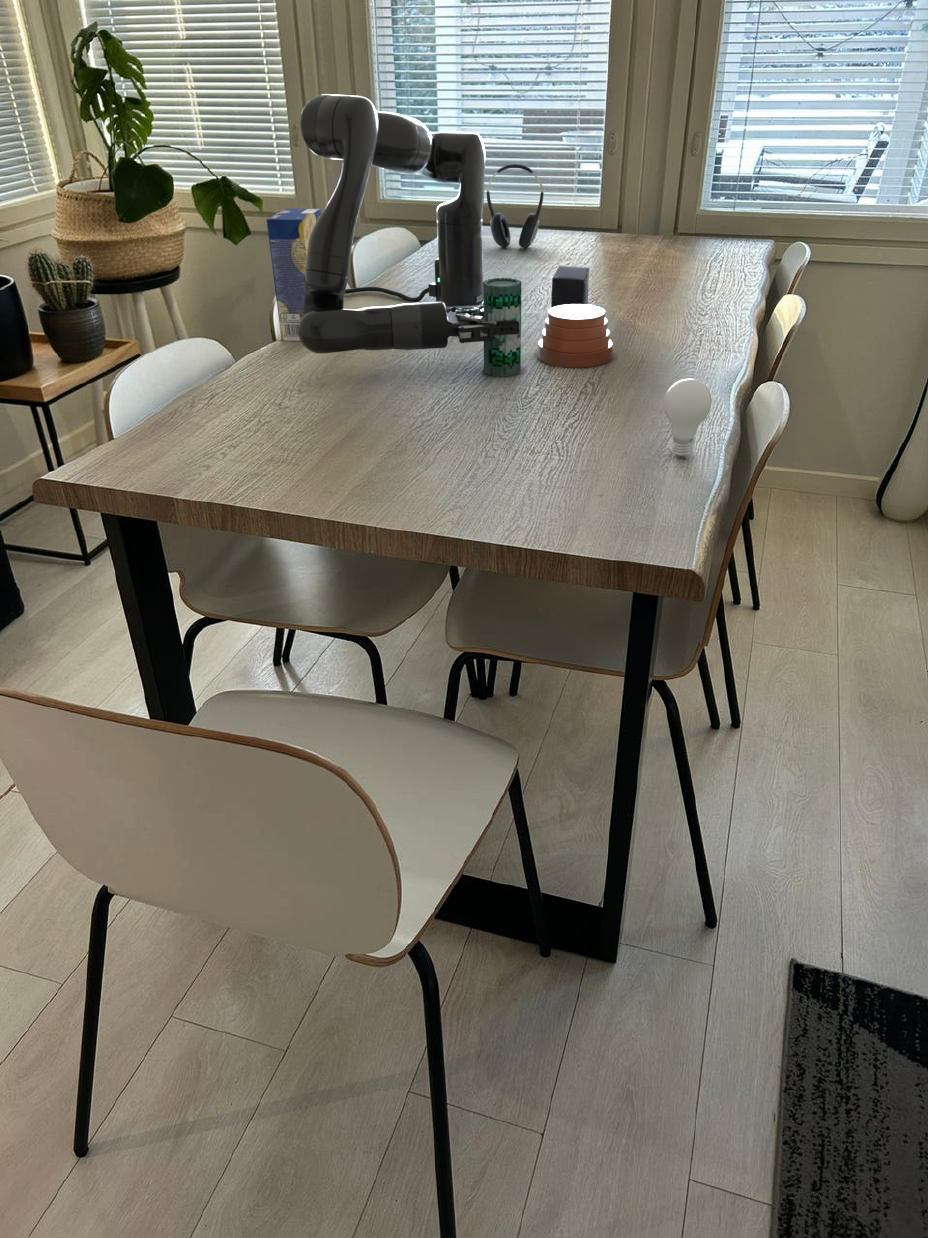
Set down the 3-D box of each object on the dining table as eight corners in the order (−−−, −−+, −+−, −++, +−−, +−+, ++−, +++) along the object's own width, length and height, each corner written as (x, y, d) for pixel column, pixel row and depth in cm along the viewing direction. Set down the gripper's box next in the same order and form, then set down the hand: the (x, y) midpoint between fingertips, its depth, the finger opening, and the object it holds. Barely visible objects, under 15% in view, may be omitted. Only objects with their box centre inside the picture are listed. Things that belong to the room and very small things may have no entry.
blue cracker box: (331, 325, 196) (320, 208, 184) (315, 341, 186) (302, 219, 175) (299, 324, 197) (286, 208, 185) (281, 340, 188) (266, 219, 176)
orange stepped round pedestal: (523, 359, 174) (524, 314, 170) (564, 341, 183) (565, 297, 179) (586, 372, 167) (588, 325, 163) (625, 353, 176) (628, 308, 172)
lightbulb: (653, 448, 138) (660, 373, 132) (697, 446, 139) (706, 371, 133) (665, 466, 133) (673, 388, 127) (710, 464, 133) (720, 386, 127)
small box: (582, 335, 186) (585, 278, 180) (549, 334, 187) (550, 277, 181) (588, 320, 195) (590, 265, 189) (555, 319, 196) (557, 265, 190)
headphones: (539, 251, 249) (541, 166, 238) (483, 249, 252) (482, 165, 241) (545, 244, 256) (546, 161, 245) (490, 243, 259) (489, 160, 248)
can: (495, 378, 166) (495, 288, 158) (478, 368, 170) (477, 280, 162) (526, 372, 168) (527, 283, 160) (508, 362, 173) (509, 275, 165)
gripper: (420, 315, 155) (523, 309, 157) (413, 292, 167) (509, 287, 169) (422, 361, 159) (522, 355, 161) (416, 336, 171) (509, 331, 173)
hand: (515, 320), depth 165 cm, fingers open, 6 cm apart
